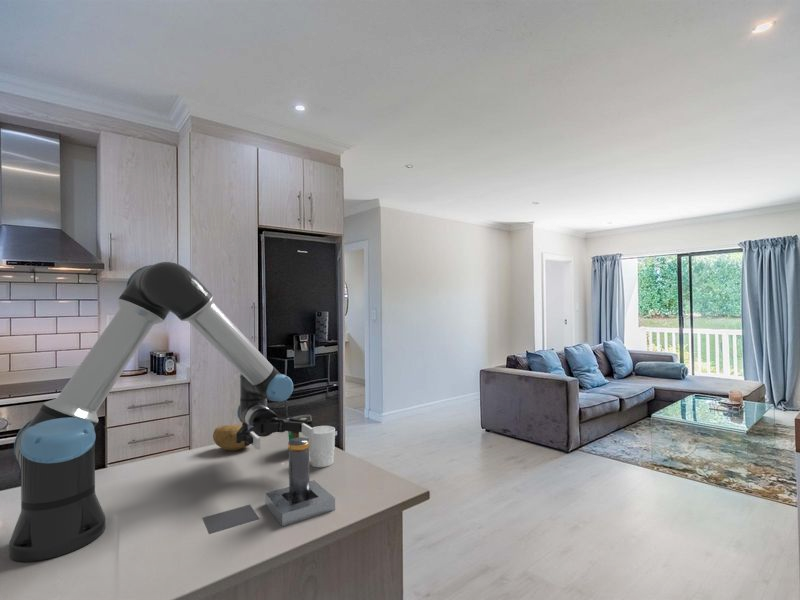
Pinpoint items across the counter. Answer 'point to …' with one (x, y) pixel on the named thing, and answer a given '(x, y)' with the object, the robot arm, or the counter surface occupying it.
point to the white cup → (322, 446)
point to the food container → (299, 434)
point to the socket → (299, 504)
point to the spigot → (299, 470)
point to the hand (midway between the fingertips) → (286, 438)
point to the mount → (230, 518)
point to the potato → (227, 437)
